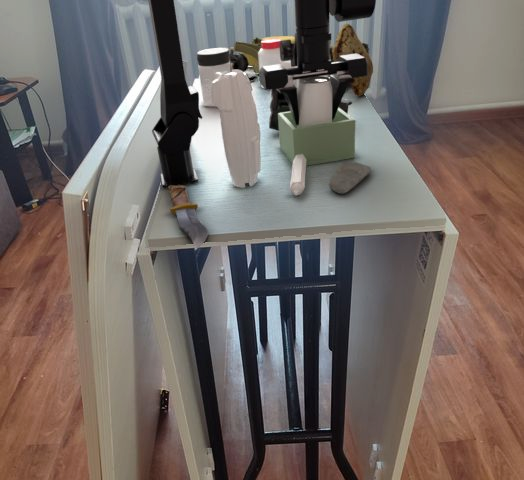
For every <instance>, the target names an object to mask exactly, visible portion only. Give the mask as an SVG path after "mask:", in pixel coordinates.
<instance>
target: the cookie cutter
mask: <svg viewBox="0 0 524 480" xmlns="http://www.w3.org/2000/svg"><path fill="white" fill-rule="evenodd" d="M262 39H263V38H259V37H258V36H255V37H254V38H253V39H252V41H251V43H249V42H245V41H244V42H242V41H235V40H234V42H233V47H234V52H236V53H245V54H248V55H251V56H253V57H254V58H256V59H257V60H258V52H259V50H260V49H261V48H262V47H261V41H262ZM253 68H254V69H253V72H254V74H259V62H257V63H255V64H254V67H253Z"/></svg>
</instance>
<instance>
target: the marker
mask: <svg viewBox="0 0 524 480" xmlns="http://www.w3.org/2000/svg"><path fill="white" fill-rule="evenodd" d="M306 169H307V166H306V158H305V157H304V155H303V154H299V155H296V156H295V158H294V160H293V165H292V166H291V173H290V183H289V191H291V193H292V195H293V196H295V197H297V196H298V195H302V193H303V192H304V190H305V186H306Z"/></svg>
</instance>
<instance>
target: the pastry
mask: <svg viewBox="0 0 524 480" xmlns="http://www.w3.org/2000/svg"><path fill="white" fill-rule="evenodd" d="M362 43H363V42H362V41H361V40H360V38H359V37H358V34H357V33H356V30H355V29H354V27H353V26H352V24H349V23H347V22H346V23H344V24H343V25H342V26H341V28H340V29H339V31H338V33H337V36H336V39H335V43H334V45H333V46H332V47H333V49H332V54H333V60H334V62H337V60H338V58H339V56H342V55H349V54H356V53H357V54H359V55H361V56H363V57H365V58H366V59H367V60H368V64H369V71H368V75H367V76H362V77H355V78H354V79H355V82H354V83H350V84H349V86H348V87H349V88H351V89H352V93H353V94H354V95H355V96H356V97H361V96H364V95H365V94H366V92H367V91H368V89H369V87H370V84H371V79H372V76H373V73H374V65H373V60H372V59H371V57H370V53H369V54H368V53H367V51H366V49H365V48H364V46H363V45H362Z"/></svg>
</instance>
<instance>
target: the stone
mask: <svg viewBox="0 0 524 480" xmlns="http://www.w3.org/2000/svg"><path fill="white" fill-rule="evenodd" d="M371 172H372V167H371V166H368V165H365V164H361V163H358V162H354V161H349V160H345V161H344V162H343V164H341V166H340V167H339V168H338V169H337V170H336V172H335V173H334V174H333V175H332V177H331V178H330V180H329V182H328V186H329V188H330V189H331V190H332V191H334V192H335V193H338V194H345V193H348V192H349V191H351V190H352V189H353V188H354V187H356V186H357V185H358V184H359V183H360V182H361V181H362V180H363V179H365V178H366V177H367V176H368V175H369V174H370V173H371Z"/></svg>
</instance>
